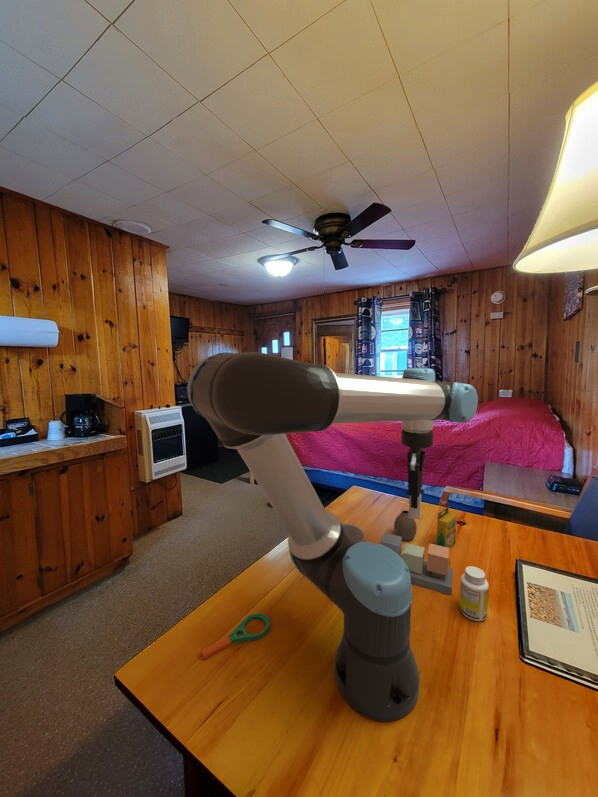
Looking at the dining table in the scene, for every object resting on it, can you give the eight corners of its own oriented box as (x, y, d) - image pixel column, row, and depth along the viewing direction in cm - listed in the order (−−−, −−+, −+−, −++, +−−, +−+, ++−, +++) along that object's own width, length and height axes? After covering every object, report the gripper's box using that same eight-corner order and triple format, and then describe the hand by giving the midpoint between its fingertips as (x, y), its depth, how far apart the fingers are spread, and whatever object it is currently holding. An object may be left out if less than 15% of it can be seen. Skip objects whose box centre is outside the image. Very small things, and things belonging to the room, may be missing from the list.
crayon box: (445, 554, 95) (446, 517, 93) (435, 549, 97) (436, 513, 95) (455, 544, 100) (457, 508, 98) (446, 540, 102) (447, 505, 100)
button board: (451, 595, 79) (452, 574, 78) (374, 572, 88) (374, 553, 87) (452, 575, 86) (453, 556, 85) (381, 556, 95) (381, 538, 94)
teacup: (362, 547, 99) (362, 523, 98) (366, 571, 88) (366, 544, 87) (317, 546, 100) (317, 522, 99) (315, 569, 90) (315, 542, 88)
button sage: (421, 574, 83) (422, 557, 83) (402, 568, 85) (402, 552, 85) (424, 563, 87) (424, 547, 87) (405, 558, 90) (406, 543, 89)
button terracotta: (447, 575, 80) (448, 558, 80) (426, 570, 82) (427, 553, 82) (448, 564, 84) (449, 548, 84) (428, 559, 87) (429, 543, 86)
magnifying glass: (262, 613, 75) (261, 606, 75) (275, 631, 70) (275, 624, 70) (197, 648, 67) (196, 641, 66) (207, 671, 62) (206, 663, 61)
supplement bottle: (478, 603, 76) (480, 563, 75) (492, 622, 71) (495, 580, 69) (454, 603, 76) (456, 563, 75) (466, 623, 71) (469, 580, 69)
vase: (398, 529, 109) (398, 504, 107) (419, 535, 105) (419, 510, 103) (390, 539, 103) (391, 513, 102) (412, 546, 99) (413, 519, 98)
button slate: (398, 562, 86) (398, 546, 85) (380, 557, 88) (380, 541, 87) (401, 552, 90) (401, 536, 89) (384, 548, 92) (384, 532, 92)
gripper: (430, 437, 74) (426, 533, 77) (435, 425, 85) (432, 509, 88) (396, 434, 77) (394, 526, 80) (406, 423, 89) (404, 504, 92)
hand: (414, 517), depth 84 cm, fingers closed
